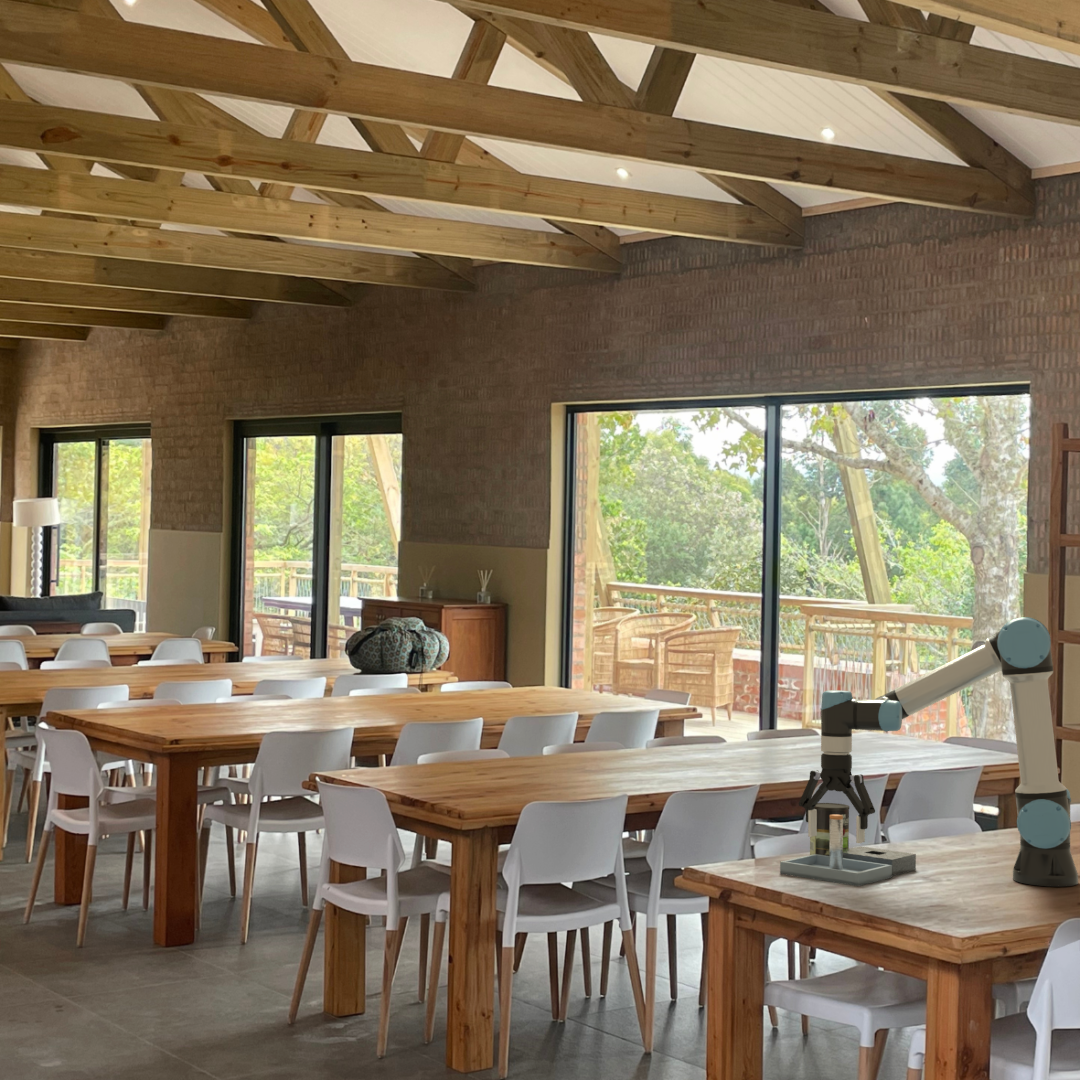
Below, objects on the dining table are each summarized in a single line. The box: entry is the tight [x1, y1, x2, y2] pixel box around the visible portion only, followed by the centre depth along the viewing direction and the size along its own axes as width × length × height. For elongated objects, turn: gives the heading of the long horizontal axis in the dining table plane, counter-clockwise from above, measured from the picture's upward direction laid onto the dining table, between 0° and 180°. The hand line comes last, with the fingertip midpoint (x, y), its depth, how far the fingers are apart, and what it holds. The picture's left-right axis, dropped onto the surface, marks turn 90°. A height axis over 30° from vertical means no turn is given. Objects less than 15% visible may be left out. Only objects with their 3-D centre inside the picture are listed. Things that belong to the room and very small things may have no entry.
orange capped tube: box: [829, 814, 843, 870], centre depth 368 cm, size 3×3×14 cm
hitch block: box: [843, 845, 917, 877], centre depth 378 cm, size 16×12×4 cm
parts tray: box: [779, 854, 893, 887], centre depth 368 cm, size 22×16×3 cm
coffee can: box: [809, 802, 850, 856], centre depth 392 cm, size 10×10×14 cm
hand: (836, 839), depth 368 cm, fingers open, 13 cm apart
